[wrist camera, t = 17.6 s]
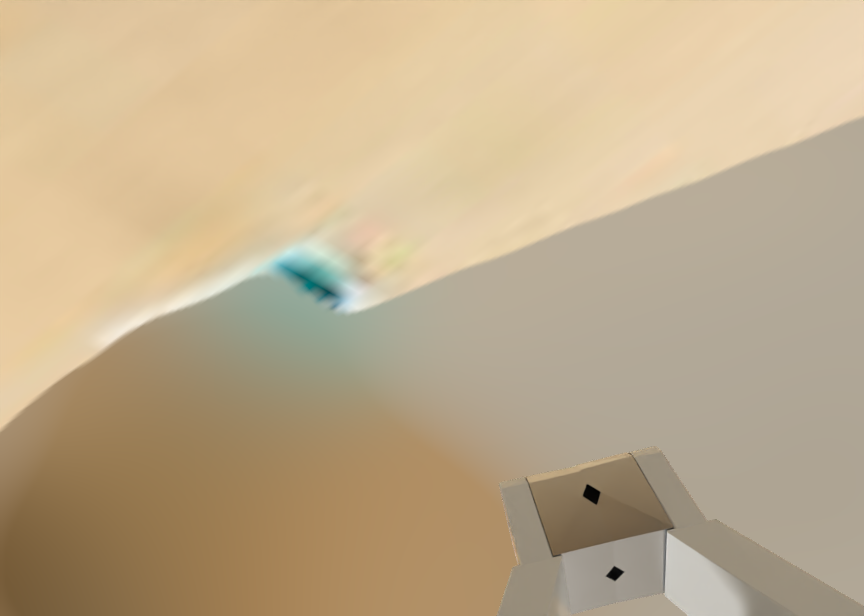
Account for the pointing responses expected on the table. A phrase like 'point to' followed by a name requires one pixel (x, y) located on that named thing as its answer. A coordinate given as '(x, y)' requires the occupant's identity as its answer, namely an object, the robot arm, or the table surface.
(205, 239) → the table surface
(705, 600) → the robot arm
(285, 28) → the table surface
